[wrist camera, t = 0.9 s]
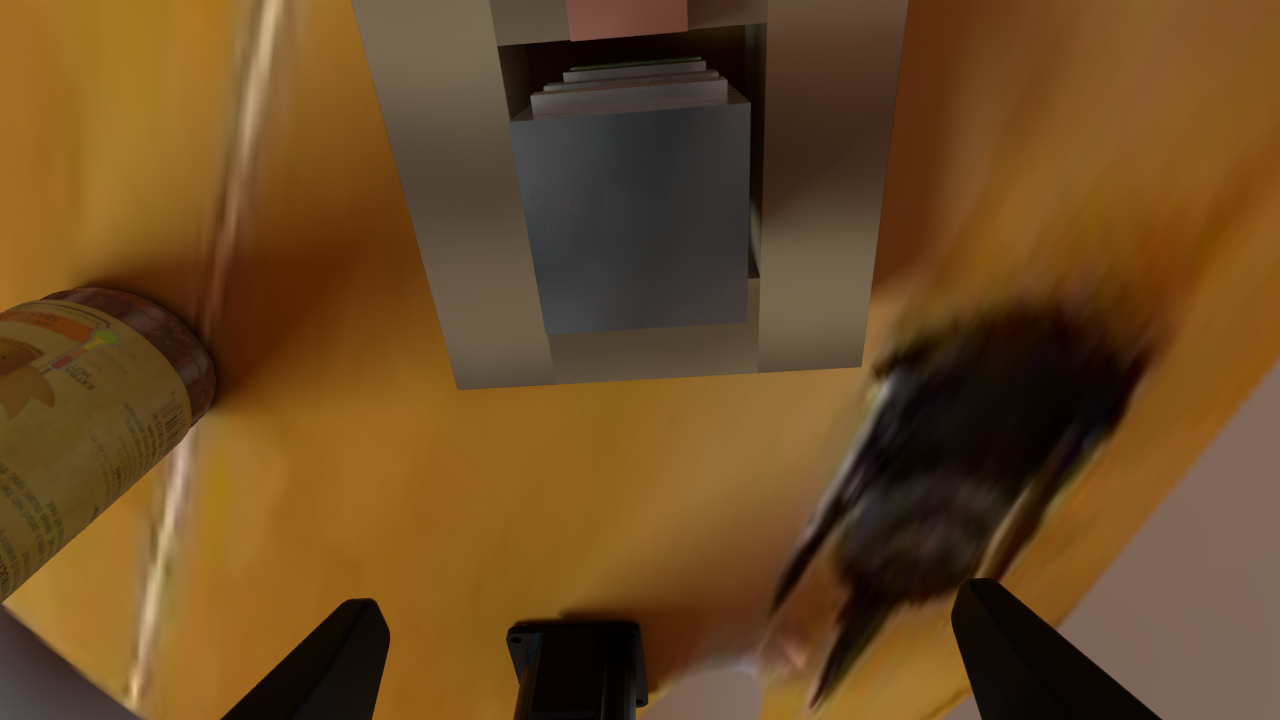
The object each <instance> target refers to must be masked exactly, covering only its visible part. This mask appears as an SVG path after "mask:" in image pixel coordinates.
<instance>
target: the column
mask: <svg viewBox="0 0 1280 720" xmlns="http://www.w3.org/2000/svg"><path fill="white" fill-rule="evenodd" d="M570 70H571V71H565V72H564V73H563V77H564V79H563V80H562V81H561V82H559V83H548V84H547V85H545V86H544V91H542V92H535V93H534V94H532V95H531V96H530V97H531V105H530V106H528V107H527V108H526V109H525V110H523V111H522V112H521V113H519V114H518V115H517V116H515V117H514V118H513V119H512V120H510V121H509V122H508V124H509V130H510V135H511V141H512V147H513V152H514V158H515V164H516V169H517V175H518V181H519V186H520V192H521V198H522V203H523V209H524V215H525V220H526V226H527V232H528V237H529V243H530V249H531V254H532V260H533V266H534V271H535V277H536V283H537V288H538V294H539V300H540V305H541V311H542V317H543V322H544V328H545V334H546V335H553V334H569V333H585V332H601V331H618V330H634V329H650V328H666V327H683V326H699V325H715V324H731V323H747V306H748V244H749V182H750V121H751V103H750V102H749V101H748V100H747V99H746V98H745V97H744V96H743V95H742V94H740V93H739V92H738V91H737V90H736V89H735V88H734V87H733V86H731V85H730V84H729V83H728V82H727V79H726V78H725V77H721V76H720V75H719V72H718V71H717V70H714V69H712V68H711V67H710V66H709V65H706V61H705V60H704V59H702V60H701V56H687V57H676V58H664V59H652V60H640V61H628V62H616V63H605V64H593V65H581V66H572V67H571V68H570Z"/></svg>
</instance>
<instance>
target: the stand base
mask: <svg viewBox="0 0 1280 720" xmlns="http://www.w3.org/2000/svg"><path fill="white" fill-rule="evenodd" d="M908 2H909V0H351V3H352V7H353V11H354V14H355V18H356V21H357V25H358V29H359V32H360V36H361V40H362V43H363V47H364V50H365V54H366V58H367V61H368V65H369V69H370V72H371V76H372V80H373V83H374V87H375V90H376V94H377V98H378V101H379V105H380V109H381V112H382V116H383V120H384V123H385V127H386V130H387V134H388V138H389V141H390V145H391V149H392V152H393V156H394V160H395V163H396V167H397V170H398V174H399V178H400V181H401V185H402V189H403V192H404V196H405V200H406V203H407V207H408V210H409V214H410V218H411V221H412V225H413V229H414V232H415V236H416V239H417V243H418V247H419V250H420V254H421V258H422V261H423V265H424V269H425V272H426V276H427V279H428V283H429V287H430V290H431V294H432V298H433V301H434V305H435V309H436V312H437V316H438V319H439V323H440V327H441V330H442V334H443V338H444V341H445V345H446V349H447V352H448V356H449V359H450V363H451V367H452V370H453V374H454V378H455V381H456V385H457V388H458V390H467V389H484V388H502V387H519V386H537V385H554V384H572V383H589V382H607V381H624V380H642V379H659V378H677V377H694V376H712V375H729V374H747V373H764V372H782V371H799V370H817V369H834V368H852V367H861V365H862V357H863V349H864V342H865V334H866V326H867V318H868V311H869V303H870V295H871V288H872V280H873V272H874V264H875V257H876V249H877V241H878V234H879V226H880V218H881V210H882V203H883V195H884V187H885V179H886V172H887V164H888V156H889V149H890V141H891V133H892V125H893V118H894V110H895V102H896V95H897V87H898V79H899V71H900V64H901V56H902V48H903V40H904V33H905V25H906V17H907V10H908ZM735 25H745V83H744V97H745V98H746V99H747V100H748V101H749V102H750V103H751V121H750V182H749V244H748V306H747V323H731V324H715V325H699V326H683V327H666V328H650V329H634V330H618V331H601V332H585V333H569V334H553V335H546V334H545V328H544V322H543V317H542V311H541V305H540V300H539V294H538V288H537V283H536V277H535V271H534V266H533V260H532V254H531V249H530V243H529V237H528V232H527V226H526V220H525V215H524V209H523V203H522V198H521V192H520V186H519V181H518V175H517V169H516V164H515V158H514V152H513V147H512V141H511V135H510V130H509V124H508V122H509V121H510V120H512V119H513V118H514V117H515V116H517V115H518V114H519V113H521V112H522V111H523V110H525V109H526V108H527V107H528V106H530V105H531V97H530V96H531V95H532V94H533V87H532V81H531V74H530V67H529V61H528V54H527V48H526V44H527V43H539V42H550V41H562V40H571V41H582V40H594V39H605V38H617V37H628V36H640V35H651V34H663V33H675V32H686V31H688V30H689V29H700V28H712V27H723V26H735Z"/></svg>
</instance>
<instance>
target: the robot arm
mask: <svg viewBox="0 0 1280 720" xmlns="http://www.w3.org/2000/svg"><path fill="white" fill-rule="evenodd" d="M951 621H952V627H953V631H954V634H955V637H956V640H957V644H958V647H959V650H960V653H961V656H962V659H963V662H964V665H965V669H966V672H967V675H968V678H969V681H970V684H971V687H972V691H973V694H974V697H975V700H976V703H977V706H978V709H979V712H980V716H981V719H982V720H1162V719H1161V718H1160V717H1159V716H1157V715H1156V714H1155V713H1154V712H1153V711H1151V710H1150V709H1149V708H1148V707H1147V706H1146V705H1144V704H1143V703H1142V702H1141V701H1139V700H1138V699H1137V698H1136V697H1135V696H1134V695H1132V694H1131V693H1130V692H1129V691H1128V690H1126V689H1125V688H1124V687H1123V686H1121V685H1120V684H1119V683H1118V682H1117V681H1116V680H1114V679H1113V678H1112V677H1111V676H1110V675H1108V674H1107V673H1106V672H1105V671H1104V670H1102V669H1101V668H1100V667H1099V666H1098V665H1096V664H1095V663H1094V662H1093V661H1092V660H1090V659H1089V658H1088V657H1087V656H1085V655H1084V654H1083V653H1082V652H1081V651H1079V650H1078V649H1077V648H1076V647H1075V646H1074V645H1072V644H1071V643H1070V642H1069V641H1068V640H1066V639H1065V638H1064V637H1063V636H1062V635H1061V634H1059V633H1058V632H1057V631H1056V630H1055V629H1053V628H1052V627H1051V626H1050V625H1049V624H1047V623H1046V622H1045V621H1044V620H1043V619H1041V618H1040V617H1039V616H1038V615H1037V614H1035V613H1034V612H1033V611H1032V610H1031V609H1029V608H1028V607H1027V606H1026V605H1025V604H1023V603H1022V602H1021V601H1020V600H1019V599H1017V598H1016V597H1015V596H1014V595H1013V594H1011V593H1010V592H1009V591H1008V590H1007V589H1005V588H1004V587H1003V586H1002V585H1001V584H999V583H998V582H997V581H995V580H993V579H989V578H974V579H965V580H964V581H962V582H961V584H960V587H959V590H958V593H957V597H956V600H955V603H954V606H953V609H952V614H951ZM506 642H507V645H508V648H509V651H510V655H511V658H512V661H513V665H514V668H515V671H516V675H517V678H518V681H519V684H520V687H519V693H518V698H517V703H516V708H515V713H514V719H513V720H636V708H638V707H644V706H646V705H647V704H648V688H647V680H646V671H645V663H644V655H643V646H642V638H641V630H640V626H639V625H638V624H636V623H633V622H621V623H593V624H566V625H539V626H515V627H511V628H510V629H509V630H508V633H507V637H506ZM389 644H390V631H389V628H388V626H387V623H386V621H385V619H384V617H383V615H382V613H381V611H380V608H379V606H378V604H377V602H376V601H375V600H373V599H372V598H359V599H349V600H346V601H345V602H343V603H342V604H341V605H340V606H339V607H337V608H336V609H335V610H334V611H333V612H332V613H331V614H330V615H329V616H328V617H327V618H326V619H325V620H324V621H323V622H322V623H321V624H320V625H319V626H318V627H317V628H316V629H314V630H313V631H312V632H311V633H310V634H309V635H308V636H307V637H306V638H305V639H304V640H303V641H302V642H301V643H300V644H299V645H298V646H297V647H296V648H295V649H294V650H293V651H291V652H290V653H289V654H288V655H287V656H286V657H285V658H284V659H283V660H282V661H281V662H280V663H279V664H278V665H277V666H276V667H275V668H274V669H273V670H272V671H271V672H269V673H268V674H267V675H266V676H265V677H264V678H263V679H262V680H261V681H260V682H259V683H258V684H257V685H256V686H255V687H254V688H253V689H252V690H251V691H250V692H249V693H248V694H246V695H245V696H244V697H243V698H242V699H241V700H240V701H239V702H238V703H237V704H236V705H235V706H234V707H233V708H232V709H231V710H230V711H229V712H228V713H227V714H226V715H225V716H223V717H222V718H221V719H220V720H372V716H373V712H374V708H375V704H376V700H377V695H378V691H379V687H380V683H381V678H382V674H383V670H384V666H385V662H386V657H387V653H388V649H389Z"/></svg>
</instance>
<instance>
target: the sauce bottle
mask: <svg viewBox="0 0 1280 720" xmlns="http://www.w3.org/2000/svg"><path fill="white" fill-rule="evenodd" d="M216 380H217V378H216V377H215V372H214V363H213V362H212V360H211V358H210V357H209V355H208V354H207V352H206V350H205V349H204V346H203V345H202V344H201V343H200V342H199V340H198V339H197V338H196V337H195V336H194V335H193V334H192V332H191V331H190V329H189V328H188V327H186V326H185V325H184V324H183V323H182V322H181V321H180V320H179V319H178V318H177V317H176V316H175V315H174V314H172V313H171V312H170V311H168V310H167V309H165V308H163V307H162V306H159V305H156V304H155V303H154V302H153V301H150V300H147V299H145V298H142V297H140V296H138V295H136V294H132V293H129V292H125V291H120V290H114V289H111V288H102V287H78V288H74V289H72V290H66V291H60V292H56V293H52V294H50V295H48V296H46V297H44V298H42V299H40V300H36V301H30V302H26V303H22V304H20V305H17V306H15V307H12V308H10V309H8V310H6V311H4V312H2V313H0V604H1V603H2V602H3V601H4V600H6V599H7V598H8V597H9V596H10V595H11V594H12V593H13V592H14V591H16V590H17V589H18V588H19V587H20V586H21V585H22V584H23V583H25V582H26V581H27V580H28V579H29V578H30V577H31V576H32V575H33V574H34V573H36V572H37V571H38V570H39V569H40V568H41V567H42V566H43V565H44V564H45V563H46V562H48V561H49V560H50V559H51V558H52V557H53V556H54V555H56V554H57V553H58V552H59V551H60V550H61V549H62V548H63V547H65V546H66V545H67V544H68V543H69V542H70V541H71V540H72V539H74V538H75V537H76V536H77V535H78V534H79V533H80V532H81V531H83V530H84V529H85V528H86V527H87V526H88V525H89V524H90V523H91V522H93V521H94V520H95V519H96V518H97V517H98V516H99V515H100V514H101V513H103V512H104V511H105V510H106V509H107V508H108V507H109V506H110V505H112V504H113V503H114V502H115V501H116V500H117V499H118V498H120V497H121V496H122V495H123V494H124V493H125V492H126V491H127V490H128V489H130V488H131V487H132V486H133V485H134V484H135V483H136V482H137V481H138V480H139V479H141V478H142V477H143V476H144V475H145V474H146V473H147V472H148V471H149V470H150V469H151V468H153V467H154V466H155V465H156V464H157V463H158V462H159V461H160V460H161V459H162V458H163V457H165V456H166V455H167V454H168V453H169V452H170V451H171V450H172V449H173V448H174V447H175V446H177V445H178V444H179V443H180V442H181V441H182V440H183V438H184V437H185V436H186V434H187V433H188V431H189V429H190V428H191V427H193V426H194V425H195V424H196V423H197V421H198V420H199V419H200V418H201V417H202V416H203V415H204V414H205V413H206V411H207V410H208V409H209V408H210V405H211V401H212V399H213V396H214V394H215V392H216Z"/></svg>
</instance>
